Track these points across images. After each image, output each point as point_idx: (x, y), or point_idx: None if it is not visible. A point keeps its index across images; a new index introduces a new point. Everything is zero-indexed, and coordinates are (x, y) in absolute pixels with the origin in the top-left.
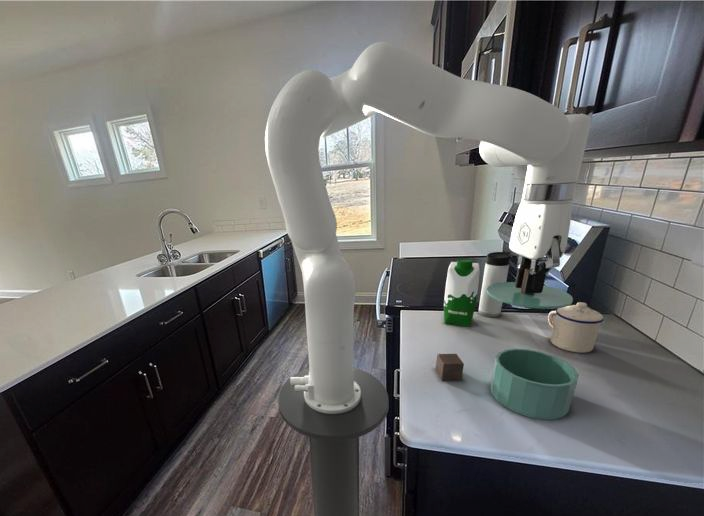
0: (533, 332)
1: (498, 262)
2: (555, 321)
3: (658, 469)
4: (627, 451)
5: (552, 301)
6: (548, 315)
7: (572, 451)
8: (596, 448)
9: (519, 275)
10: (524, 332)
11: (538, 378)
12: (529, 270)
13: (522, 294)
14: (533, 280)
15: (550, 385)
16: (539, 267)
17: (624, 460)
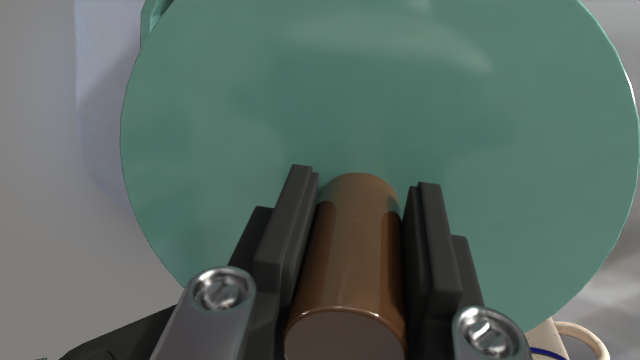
0: (596, 278)
1: None
2: (547, 331)
3: (82, 130)
4: (116, 117)
5: (199, 232)
6: (605, 349)
7: (95, 8)
8: (114, 66)
9: (417, 248)
10: (609, 257)
11: None
12: (308, 311)
13: (337, 163)
14: (243, 248)
15: (143, 35)
16: (132, 351)
17: (91, 92)
